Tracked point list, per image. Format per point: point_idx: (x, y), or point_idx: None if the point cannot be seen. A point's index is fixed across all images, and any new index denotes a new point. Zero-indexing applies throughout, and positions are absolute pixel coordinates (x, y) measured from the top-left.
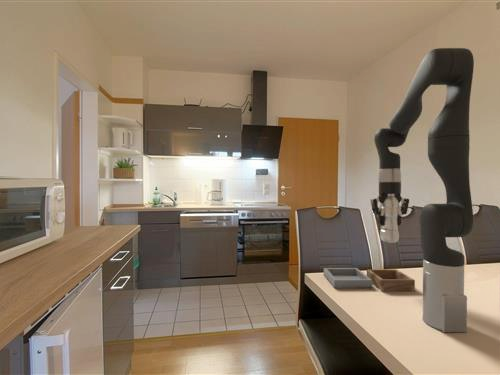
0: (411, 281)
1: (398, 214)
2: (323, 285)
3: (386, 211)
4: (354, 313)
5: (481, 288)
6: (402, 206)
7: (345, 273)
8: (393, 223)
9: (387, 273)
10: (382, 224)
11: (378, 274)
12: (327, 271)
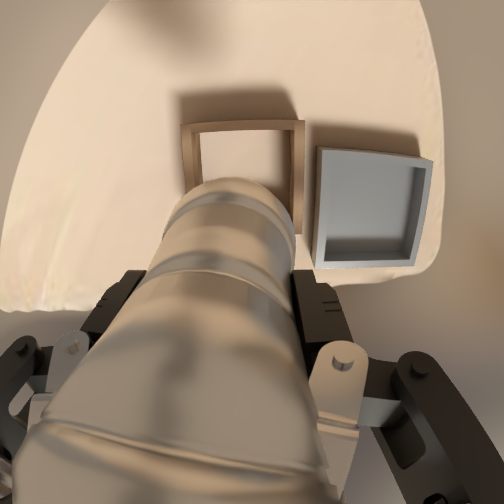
0: (193, 123)
1: None
2: (436, 180)
3: (297, 387)
4: (417, 22)
5: (32, 171)
6: (22, 434)
7: (351, 253)
8: (204, 238)
9: None
10: (311, 273)
11: None
12: (418, 237)
